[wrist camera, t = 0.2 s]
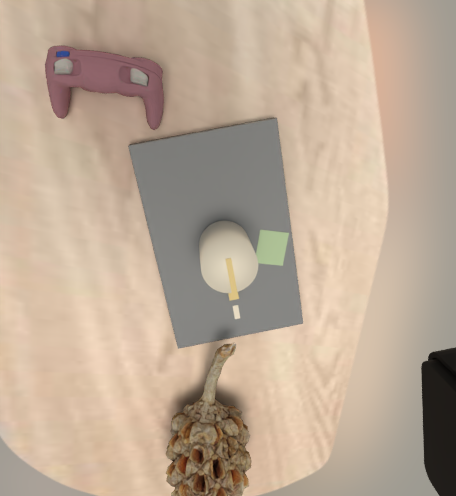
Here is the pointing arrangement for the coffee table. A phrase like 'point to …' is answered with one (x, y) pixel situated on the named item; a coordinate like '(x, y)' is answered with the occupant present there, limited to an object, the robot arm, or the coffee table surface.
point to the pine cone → (209, 443)
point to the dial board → (213, 210)
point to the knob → (227, 258)
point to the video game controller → (103, 78)
